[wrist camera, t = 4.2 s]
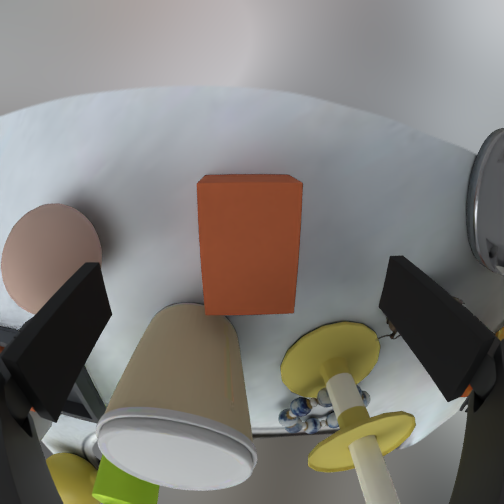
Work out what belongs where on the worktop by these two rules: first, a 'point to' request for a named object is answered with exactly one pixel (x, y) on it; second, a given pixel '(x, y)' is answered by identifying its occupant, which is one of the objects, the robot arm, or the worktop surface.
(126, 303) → the worktop surface
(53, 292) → the egg
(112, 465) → the soap dispenser
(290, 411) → the bracelet
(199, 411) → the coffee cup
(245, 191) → the loose pad
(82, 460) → the sculpture
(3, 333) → the pad frame
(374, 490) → the yellow disc white stick
